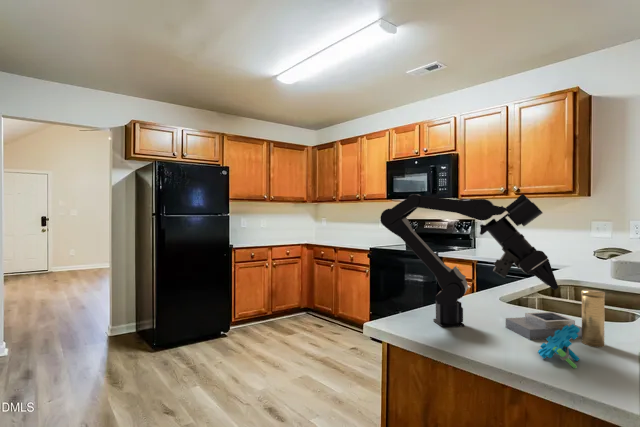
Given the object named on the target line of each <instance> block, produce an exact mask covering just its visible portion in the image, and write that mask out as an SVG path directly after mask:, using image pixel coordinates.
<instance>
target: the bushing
mask: <svg viewBox="0 0 640 427" xmlns="http://www.w3.org/2000/svg"><path fill="white" fill-rule="evenodd" d="M580 292H581V293H580V294H581V327H582V337H581V343H582V344H583V345H585V346H589V347H593V348H603V347H605V297H606V292H605V291H602V290H597V289H596V290H595V289H582V290H581V291H580Z"/></svg>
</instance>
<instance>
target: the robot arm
mask: <svg viewBox="0 0 640 427" xmlns="http://www.w3.org/2000/svg"><path fill="white" fill-rule="evenodd" d="M418 208H419V209H426V210H434V211H443V212H447V213H454V214H455V213H456V214H459V215H462V216H465V217H468V218H471V219H474V220H478V221H481V222H482V221H487V220H489V219H491V218H492V217H493V216H500V215H503V214H504V213H505V212H507V213H506V214H505V215H504V216H502V217H501V218H500V219H498V220H496V218H492V219H491V220H490V221H488V222H487V223H486V224H480V225H479V227H480V232H479V234H480V235H481V236H482V235H484V234H486V233H487V232H488V233H489V235H490V236H491V237H492V238H493V239H494V240H495V241H496V243H498V244H499V246H500V247H501V250H502V251H503V254H502V255H501V257H500V258H499V259H496V260H495V262H493V265H494V268H493V269H492V272H494V273H496V274H498V276H500V277H502V278H504V279H505V278H506V277H507V276H508V275H509V271H510V269H511V268H513V267H512V266H515V267H517V269H519V270H520V271H522V272H523V273H525V274H526V275H530V276H533V275H534V276H535V277H536V278H537V279H538V280H540V281H541V282H542V283H544V284H545V285H546V286H549V287H550V288H551V289H552V290H554V291H555V290H558V289H559V285H558V283H557V280H556V277H555V275H554V272H553V268H552V265H551V262H550V260H549V256H548V255H546V254H545V252H544V251H542V250H539V249H538V250H537V249H536V248H535V246H532V245H531V243H530V242H529V241H528V240H527V239H526V238H525V236H524V235H523V233H520V232H519V230H518V229H517V228H516V227H518V226H520V225H522V226H523V227H526V226H527V225H528V224H530V223H531V222H532V221H534V220H535V219H537V218H538V217H540V216H541V215H542V214H544V213H543V211H542V210H541V209H540V207H538V205H537V204H535V203H534V202H533V201H531V200H530V199H529V198H528V197H527V196H526V195H525V193H522V194H520V195H519V196H518V197H517V198H516V199H515V200H514V201H512V202H511V203H510V204H509V205H507V206H505V207H504V206H503V205H501V206H498V205H495V204H494V203H493V202H492V201H490V200H489V199H485V198H476V199H475V198H474V199H472V198H471V199H452V198H445V197H444V198H443V197H436V196H428V195H421V194H418V193H417V194H416V193H412V194H409V195H408V196H407V197H406V198H405V199H404V200H402V201H400V202H399V203H398V204H396V205H394V206H393V207H391V208H387V209H385V210H383V211H382V212H381V215H380V223H381V225H382V226H384V227H385V228H386V229H387V230H389V231H390V232H391V233H393V234H394V235H396V236H397V237H399V238H400V239H402V240H403V242H404V243H405V244H406V245H407V247H409V248H410V250H412V252H413V253H414V254H415V255H416V256H417V257H418V259H420V260H421V262H422V263H423V264H424V265H425V266H426V267H427V269H428V270H429V271H430V272H431V273H432V274H433V276H434V277H435V280H436V281H437V283H438V285H439V287H440V289H441V290H440V291H439V292H437V294H436V295H435V297H434V298H435V318H433V319H432V320H433V322H435V323H436V324H437V325H438V326H441V328H446V327H447V328H453V327H465V323H463V322H464V308H463V306H462V302H461V301H459V300H460V299H462V298H463V297H464V296H465V294H466V293H467V291H468V287H469V286H468V281H467V280H466V278H467V276H466V275H464V274H463V273H462V272H461V271H460V269H459V268H458V267H457V266H456V265H455V266H454V267H453V268H451V267H449V266H448V265H446V264H445V263H444V262H443V261H442V259H441V258H440V257H439V256H438V255H437V254H436V253H435V252H434V251H433V250H432V248H430V247H429V245H428V244H427V243H426V242H425V241H424V240H423V239H422V238H421V237H420V236H419V235H418V234H417V232H416V231H415V230H414V229H413V228H412V225H411V223H410V221H409V219H408V217H409V216H410V215H412V214H413V213H414V212H415V211H416V210H417V209H418ZM507 217H508V218H509V219H510V220H511V221H512V223H513V224H514V225H515V226H516V227H515V226H514V225H513V224H512V223H511V222H510V221H509V219H507Z"/></svg>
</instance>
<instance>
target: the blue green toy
mask: <svg viewBox="0 0 640 427" xmlns="http://www.w3.org/2000/svg"><path fill="white" fill-rule="evenodd" d="M575 325H576V324H575ZM575 325H574V324H572V325H570V326H568V325H566V326H564V327H563V329H562V330H561V331H560V330H557V331H555V332H554V333H555V335H554V336H553V338H552V337H551V336H549V337H548V338H547V339H545V340H546V341H547V343H545V342H543V343H541V344H540V346H539V347H540V348H539V350H538V352H537V354H538V355H539V356H540V357H541V358H542V359H543V360H544V359H547V358H548V359H551V358H553V357H554V355H555V354H556V355H557V356H559V359H560V360H561V361H566V362H567V363H568V364H569V365H570V366H571V367H572V368H573V369H577V368H578V367H577V364H576V363H574V362H573V361H575V362H577V361H579V360H580V357H579V356H578V355H577V354H576V353H575V352H573V350H572V349H570V346H572V344H573V343H572V342H571V341H570V340H573V341H574V340H576V339H577V338H579V337H578V336H579V335H577V334H576V333H578V332H579V331H580V329H579V328H578V327H577V326H578V325H577V326H575ZM569 357H571V359H570V358H569ZM572 359H573V361H572Z"/></svg>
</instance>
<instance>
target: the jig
mask: <svg viewBox="0 0 640 427" xmlns="http://www.w3.org/2000/svg"><path fill="white" fill-rule="evenodd" d="M572 324H574V325H575V326H577V327H578V328H579V329H580V331H579V332H578V333H576V334H577V335H579V336H578V337H577V338H582V326H579V325H578V324H576V320H575V319H572V318H570V317H567V316H565V315H562V314H560V313H556V312H554V311H544V312H539V311H538V312H525V313H524V316H523V317H506V318H505V328H506V329H507V330H511V331H512V332H514V333H515V334H518V335H519V336H522V337H524V338H525V337H526V339H527V338H528V340H529V339H534V340H546V339H547V338H548V337H549V336H551V337H552V338H553V336H554V335H555V333H554V332H555V331H557V330H560V331H561V330H562V329H563V327H564V326H566V325H568V326H570V325H572Z"/></svg>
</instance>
